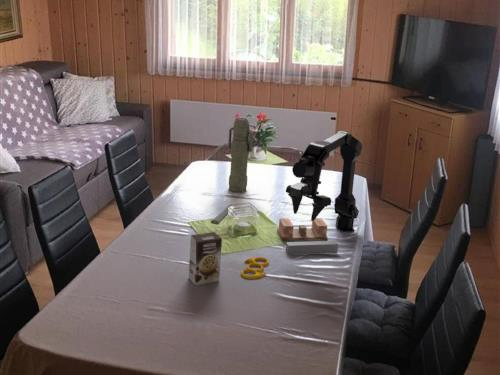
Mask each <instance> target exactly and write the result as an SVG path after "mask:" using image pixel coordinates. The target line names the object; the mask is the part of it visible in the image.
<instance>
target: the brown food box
mask: <svg viewBox="0 0 500 375" xmlns="http://www.w3.org/2000/svg"><path fill="white" fill-rule="evenodd" d="M222 238H223V237H221V236H220V235H219V234H218V233H217V232H216V231H212V232H210V231H209V232H205V233H198V234H190V244H189V246H190V248H189V264H188V267H189V268H188V278H189V280H190V281H191V282H192V283H193V284H194V286H200V285H205V284H210V283H216V282H220V275H221V274H220V273H221V258H222V245H223V239H222Z"/></svg>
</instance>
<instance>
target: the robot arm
mask: <svg viewBox="0 0 500 375" xmlns="http://www.w3.org/2000/svg"><path fill="white" fill-rule="evenodd" d="M338 148H339V155H340V157H341V159H342V160H343V161H342V172H341V180H340V181H341V182H340V191H339V192H340V193H339V194H338V195H337V196H336V197H335V198H334V206H333V207H334V214H337V217H336V219H335V226H336V229H337V230H338V231H339V232H354V231H355V229H354V222H355V219H357V218H358V216H359V210H358V207H357V206H356V198H355V196H354V193H353V190H354V179H355V171H356V169H355V168H356V162H357V160H358V158H359V157H360V156H361V153H362V150H363V145H362V142H361V141H360V140H359V139H357V138H356V137H355V136H353V135H352V134H351V133H350V132H347V131H344V130H339V131H337V133H335V134H333V135H331V136H330V137H328V138H326V139H325V140H321V141H318V140H316V141H313V142H310V143H309V144H308V145H307V147H306V148H305V150H304V152H303V153H302V155H301V157H300V158H299V159H298V161H297V162H295V163H294V164H293V165H292V175H293V176H294V177H295V178H296V179H297V178H299V179H300V182H296V183H294V184H289V185H287V187H286V188H285V193H286V194H287V195H288V196H289V197H290V199H291V202H292V210H293V214H295V215H296V214H297V213H298V211H299V208H300V205H301V202H302V200H303V198H304V197H306V198H307V199H310V200H312V202H313V203H311V206H312V212H311V219H310V220H311V222H312V221H314V220H315V218H318V216H319V215H320V214H321V212H322V211H323V210H324V209H325V208H327V207H328V206H331V205H332V199H331V197H329V196H327V195H322V194H321V195H319V194H320V192H319V191H318V190H319V189H318V188H319V185H321V184H322V181H321V180H320V179H321V174H322V169H323V167H325V166H326V163H325V161H326V160H327V159H328V158H329V157H330V153H331V152H333V151H335V150H336V149H338Z"/></svg>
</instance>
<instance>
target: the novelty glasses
mask: <svg viewBox="0 0 500 375" xmlns="http://www.w3.org/2000/svg"><path fill="white" fill-rule="evenodd" d="M257 261H263V262H262V263H261V262H257ZM246 263H247V266H246V268H245V269H243V270H241V272H240V275H241V278H243V279H248V280H256V279H261V278H263V277H265V276H266V275H267V273H266V272H263V271H264V267H267V266H268V265H269V264H270V262H269V260H268V259H267V258H266V257H262V256H258V257H251V258H248V259H246V260H245V261H244V264H246ZM252 267H258V268H252ZM245 273H253V275H252V274H251V275H247V274H245Z"/></svg>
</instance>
